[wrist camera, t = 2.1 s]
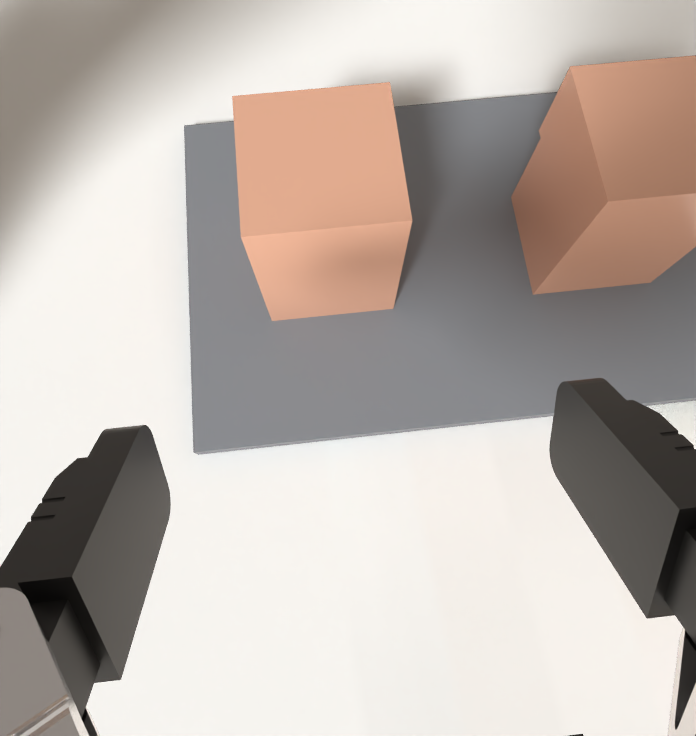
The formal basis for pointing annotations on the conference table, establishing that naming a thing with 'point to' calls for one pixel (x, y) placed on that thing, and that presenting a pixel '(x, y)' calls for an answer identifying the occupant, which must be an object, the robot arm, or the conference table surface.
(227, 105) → the conference table surface
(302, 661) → the conference table surface
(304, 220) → the peach square prism
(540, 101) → the mat
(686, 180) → the peach rectangular block
